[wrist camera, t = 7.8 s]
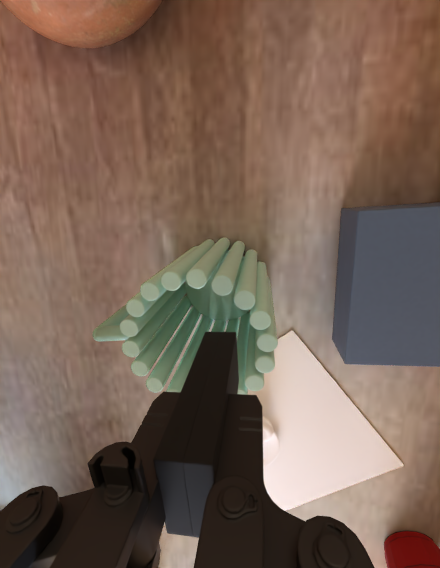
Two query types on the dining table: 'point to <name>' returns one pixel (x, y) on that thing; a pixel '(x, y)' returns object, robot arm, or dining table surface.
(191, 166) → the dining table surface
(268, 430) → the teacup and saucer
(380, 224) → the block
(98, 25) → the ceramic jug
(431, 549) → the plastic cup
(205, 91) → the dining table surface
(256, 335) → the green rod mug
